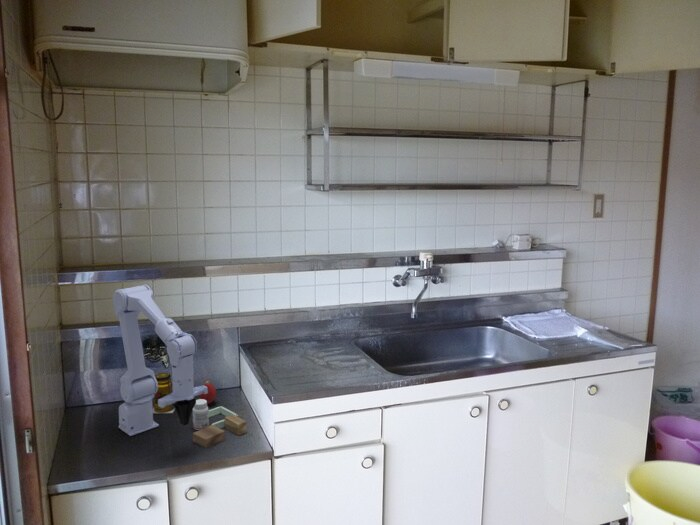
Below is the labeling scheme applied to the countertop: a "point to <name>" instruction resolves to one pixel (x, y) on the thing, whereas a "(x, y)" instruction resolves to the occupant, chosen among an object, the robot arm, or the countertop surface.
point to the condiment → (163, 392)
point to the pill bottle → (200, 415)
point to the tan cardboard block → (208, 436)
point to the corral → (222, 411)
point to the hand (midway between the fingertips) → (184, 423)
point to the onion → (209, 393)
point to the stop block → (235, 424)
